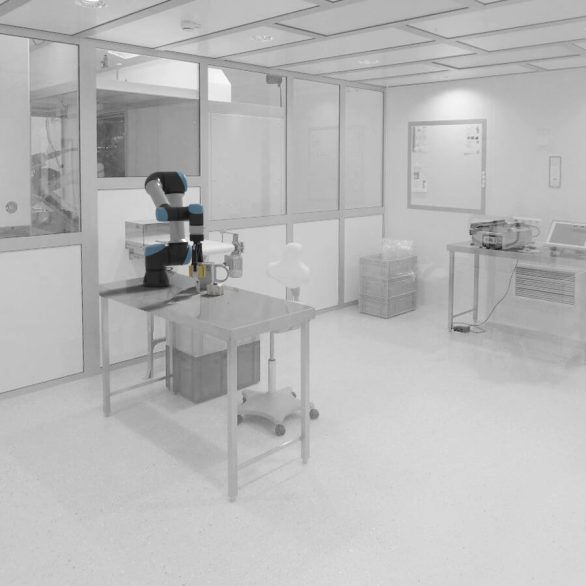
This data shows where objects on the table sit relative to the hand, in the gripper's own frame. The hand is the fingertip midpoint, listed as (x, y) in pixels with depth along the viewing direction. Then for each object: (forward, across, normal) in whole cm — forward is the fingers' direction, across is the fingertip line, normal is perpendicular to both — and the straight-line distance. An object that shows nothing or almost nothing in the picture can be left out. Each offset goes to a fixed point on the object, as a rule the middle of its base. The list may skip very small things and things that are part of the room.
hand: (197, 276), depth 349 cm
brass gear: (0, 0, 0) cm, 0 cm away
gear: (+9, 0, -9) cm, 13 cm away
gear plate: (+11, 0, -5) cm, 12 cm away
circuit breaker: (+11, +20, -1) cm, 22 cm away
